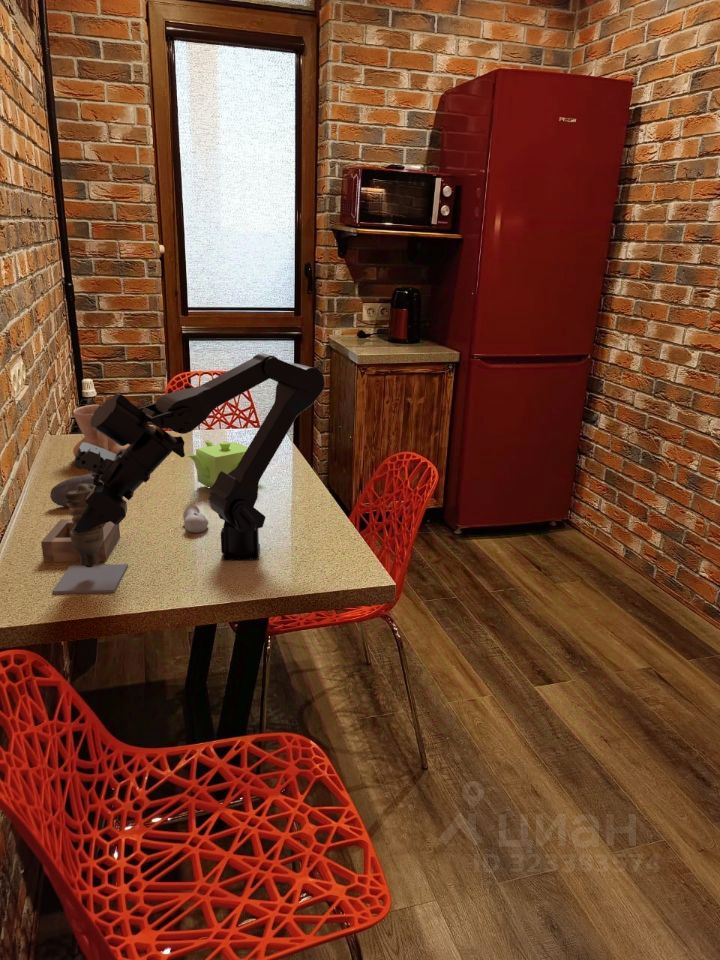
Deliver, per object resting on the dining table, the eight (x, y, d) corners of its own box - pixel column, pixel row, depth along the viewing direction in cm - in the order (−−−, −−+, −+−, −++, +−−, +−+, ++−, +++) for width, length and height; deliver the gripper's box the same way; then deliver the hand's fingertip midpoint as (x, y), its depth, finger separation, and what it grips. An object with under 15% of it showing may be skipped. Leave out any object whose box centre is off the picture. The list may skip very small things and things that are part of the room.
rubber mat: (128, 566, 125) (127, 564, 125) (114, 592, 116) (114, 589, 116) (70, 567, 124) (70, 564, 124) (52, 593, 115) (52, 591, 115)
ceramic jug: (75, 453, 191) (70, 403, 187) (130, 450, 196) (126, 400, 192) (73, 473, 175) (66, 418, 171) (133, 468, 180) (128, 415, 175)
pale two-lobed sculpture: (206, 539, 141) (181, 534, 139) (204, 524, 148) (180, 519, 146) (212, 520, 140) (187, 515, 138) (209, 506, 147) (185, 500, 145)
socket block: (120, 537, 138) (118, 518, 136) (106, 561, 127) (103, 541, 126) (62, 538, 137) (60, 519, 135) (43, 562, 126) (41, 541, 125)
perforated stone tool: (52, 512, 150) (48, 482, 147) (51, 504, 154) (47, 475, 152) (124, 503, 156) (122, 474, 154) (121, 496, 160) (118, 467, 158)
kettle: (187, 496, 161) (184, 449, 158) (202, 477, 175) (200, 434, 171) (251, 498, 161) (250, 451, 157) (261, 479, 174) (260, 436, 171)
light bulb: (98, 557, 123) (89, 477, 118) (115, 566, 120) (107, 484, 115) (68, 567, 119) (57, 485, 114) (85, 577, 116) (75, 493, 111)
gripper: (107, 414, 121) (47, 477, 122) (93, 442, 104) (24, 516, 105) (157, 454, 125) (99, 516, 126) (153, 488, 108) (86, 559, 109)
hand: (78, 525), depth 117 cm, fingers closed on light bulb, 5 cm apart
